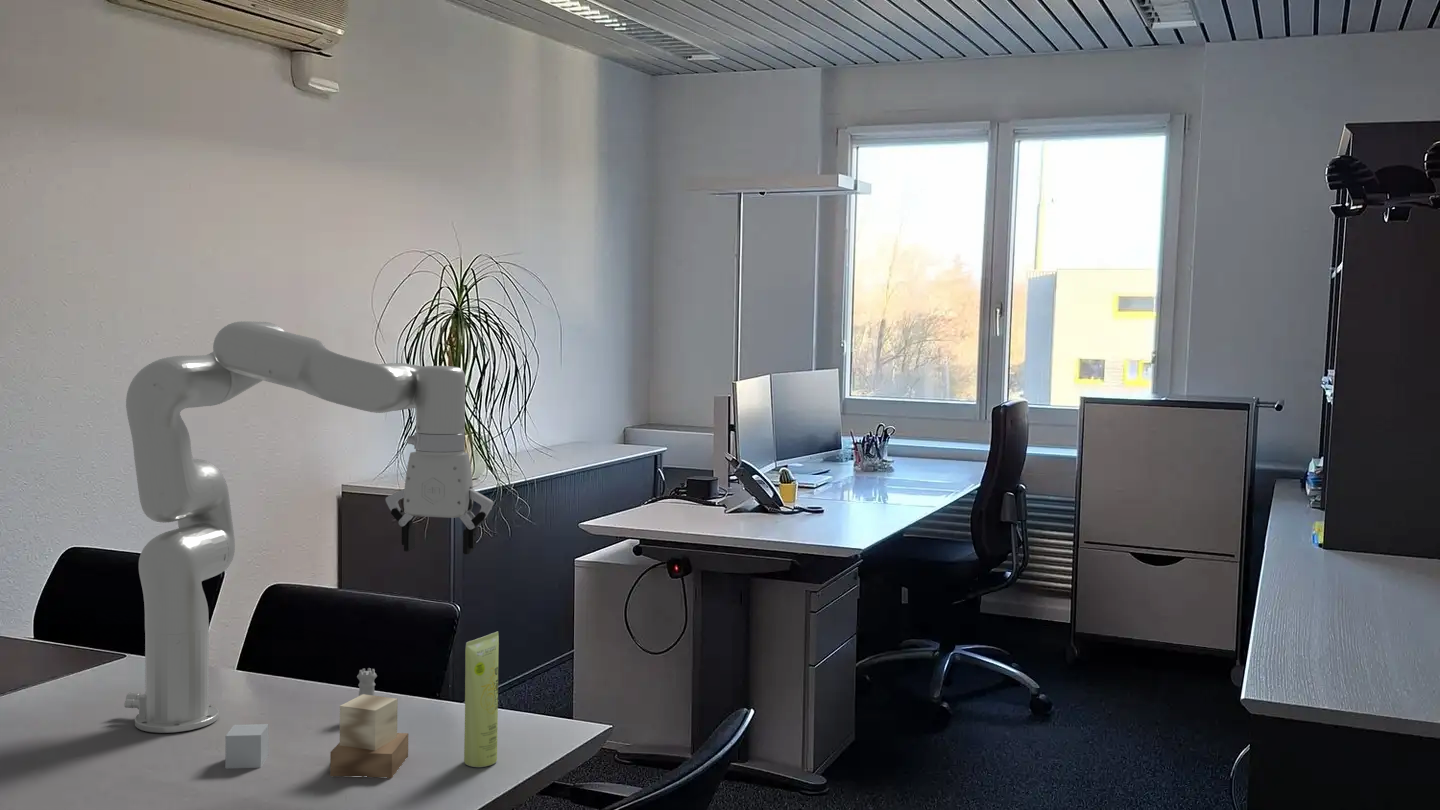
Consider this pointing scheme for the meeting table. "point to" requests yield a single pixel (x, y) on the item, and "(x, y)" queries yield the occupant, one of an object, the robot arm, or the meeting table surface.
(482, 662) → the tube
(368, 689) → the rook chess piece
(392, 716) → the birch block
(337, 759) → the walnut block
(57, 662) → the meeting table surface
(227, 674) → the meeting table surface
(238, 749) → the grey block
